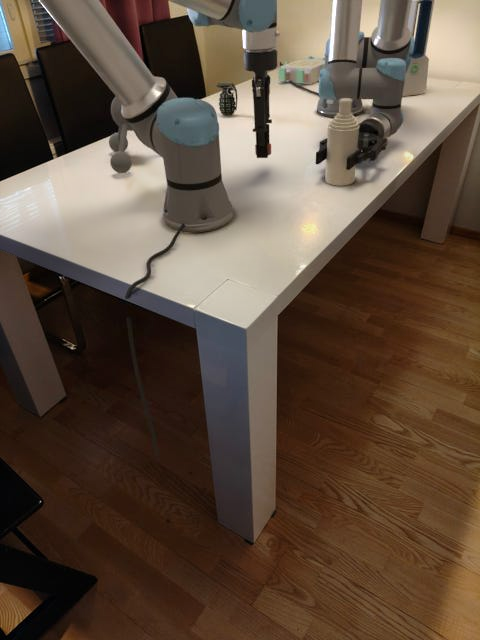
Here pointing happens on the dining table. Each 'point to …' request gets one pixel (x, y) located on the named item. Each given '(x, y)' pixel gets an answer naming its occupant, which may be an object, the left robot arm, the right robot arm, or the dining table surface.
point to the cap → (268, 149)
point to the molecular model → (119, 140)
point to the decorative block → (302, 70)
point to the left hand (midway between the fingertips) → (263, 153)
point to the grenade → (227, 99)
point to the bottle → (341, 145)
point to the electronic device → (418, 47)
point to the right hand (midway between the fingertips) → (332, 161)
